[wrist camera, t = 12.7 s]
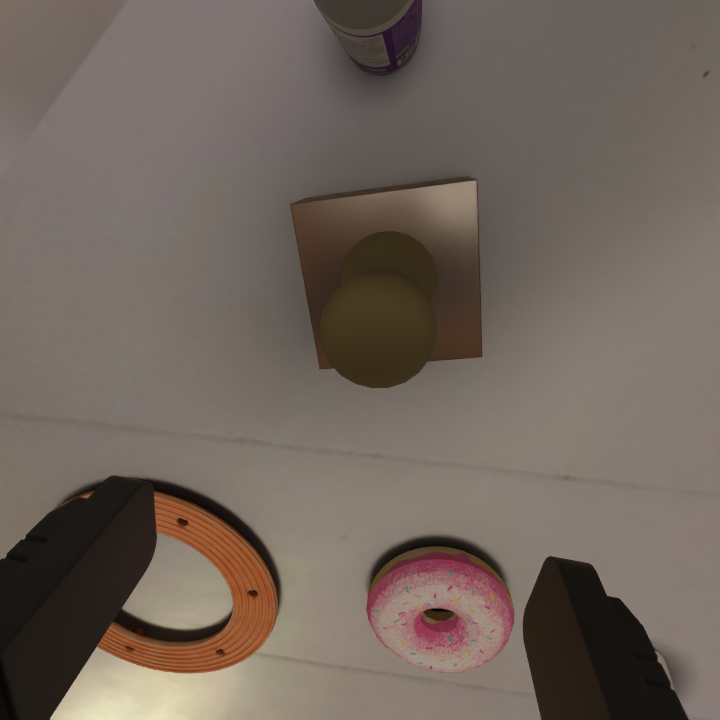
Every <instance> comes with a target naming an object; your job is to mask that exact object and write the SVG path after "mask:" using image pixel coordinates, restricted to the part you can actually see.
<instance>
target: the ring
mask: <svg viewBox="0 0 720 720" xmlns="http://www.w3.org/2000/svg"><path fill="white" fill-rule="evenodd" d="M93 492H94V491H91V492H87V493H84V494H81V495H79V496H76V497H82V498H88V497H89V496H90V495H91V494H92V493H93ZM76 497H74V498H76ZM74 498H72V499H70V500H68V501H66V502H65V503H63V504H62V505H64V504H66V503H67V502H69V501H71V500H73V499H74ZM154 502H155V517H156V532H157V533H160V534H163V535H167V536H170V537H172V538H174V539H177V540H179V541H181V542H183V543H185V544H187V545H189V546H190V547H192V548H194V549H195V550H197V551H198V552H200V553H201V554H202V555H204V556H205V557H206V558H207V559H208V560H210V561H211V562H212V563H213V564H214V566H215V567H216V568H217V569H218V570H219V571H220V572H221V574H222V575H223V577H224V578H225V580H226V582H227V584H228V586H229V588H230V590H231V594H232V598H233V612H232V616H231V618H230V620H229V622H228V624H227V625H226V626H225V627H224V628H223V629H222V630H220V631H219V632H218V633H216V634H214V635H212V636H210V637H208V638H205V639H201V640H197V641H191V642H167V641H160V640H156V639H152V638H148V637H145V636H146V633H145V631H144V630H142V629H140V628H135V629H133V630H132V631H130V630H128V629H126V628H124V627H122V626H120V625H118V624H117V623H115V622H114V621H113V622H112V624H111V625H110V627H109V628H108V630H107V631H106V633H105V634H104V636H103V638H102V639H101V641H100V642H99V644H98V645H97V647H99V648H100V649H102V650H104V651H106V652H108V653H110V654H112V655H114V656H116V657H118V658H120V659H123V660H125V661H128V662H131V663H133V664H136V665H139V666H143V667H146V668H150V669H154V670H160V671H165V672H173V673H205V672H211V671H217V670H221V669H224V668H227V667H230V666H233V665H235V664H237V663H239V662H241V661H243V660H245V659H247V658H248V657H250V656H251V655H252V654H254V653H255V652H256V651H257V650H258V649H259V648H260V647H261V646H262V645H263V644H264V642H265V641H266V639H267V638H268V637H269V635H270V633H271V632H272V630H273V628H274V625H275V622H276V618H277V614H278V595H277V590H276V586H275V583H274V580H273V578H272V575H271V573H270V571H269V569H268V567H267V566H266V564H265V562H264V561H263V559H262V558H261V556H260V555H259V554H258V552H257V551H256V550H255V549H254V547H253V546H252V545H251V544H250V543H249V542H248V541H247V540H246V539H245V538H244V537H243V536H242V535H241V534H240V533H238V532H237V531H236V530H235V529H234V528H233V527H231V526H230V525H229V524H227V523H226V522H225V521H223V520H222V519H220V518H219V517H217V516H216V515H214V514H212V513H211V512H209V511H207V510H205V509H203V508H201V507H199V506H198V505H197V504H196V503H193V502H188V501H186V500H183V499H180V498H177V497H175V496H172V495H168V494H164V493H161V492H156V491H154ZM62 505H60V506H62ZM60 506H59V507H60ZM59 507H57V508H59ZM57 508H56V509H57Z"/></svg>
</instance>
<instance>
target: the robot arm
mask: <svg viewBox="0 0 720 720" xmlns="http://www.w3.org/2000/svg"><path fill="white" fill-rule="evenodd" d="M156 541H157V532H156V517H155V502H154V489H153V485H152V484H151V483H150V482H147V481H142V480H136V479H131V478H125V477H120V476H110V477H109V478H107V479H106V480H105V481H104V482H103V483H102V484H101V485H100V486H99V487H98V488H97V489H96V490H95V491H94V492H93V493H92V494H91V495H90V496H89V497H88V498H82V497H76V498H74V499H73V500H71V501H69V502H67V503H66V504H64V505H62V506H60V507H59V508H57V509H55V510H53V511H52V512H50V513H48V514H47V515H46V516H45V517H44V518H43V519H42V520H41V521H40V522H39V523H38V524H37V525H36V526H35V527H34V528H33V529H32V530H31V531H30V532H29V533H28V534H27V535H26V538H25V539H24V540H21V541H20V542H18V543H17V544H16V545H15V546H14V547H13V548H12V549H11V550H10V551H9V552H8V553H7V556H6V558H5V559H1V560H0V720H49V719H50V717H51V716H52V714H53V713H54V711H55V710H56V708H57V707H58V705H59V704H60V702H61V701H62V699H63V698H64V696H65V694H66V693H67V691H68V690H69V688H70V687H71V685H72V684H73V682H74V681H75V679H76V678H77V676H78V674H79V673H80V671H81V670H82V668H83V667H84V665H85V664H86V662H87V661H88V659H89V658H90V656H91V654H92V653H93V651H94V650H95V648H96V647H97V645H98V644H99V642H100V641H101V639H102V638H103V636H104V634H105V633H106V631H107V630H108V628H109V627H110V625H111V624H112V622H113V621H114V619H115V618H116V616H117V614H118V613H119V611H120V610H121V608H122V607H123V605H124V604H125V602H126V601H127V599H128V598H129V596H130V595H131V593H132V591H133V590H134V588H135V587H136V585H137V584H138V582H139V581H140V579H141V578H142V576H143V575H144V573H145V571H146V570H147V568H148V566H149V564H150V562H151V560H152V557H153V554H154V551H155V547H156ZM523 638H524V644H525V649H526V653H527V658H528V662H529V667H530V671H531V675H532V680H533V684H534V689H535V693H536V698H537V702H538V706H539V711H540V715H541V720H689V719H688V717H687V715H686V713H685V711H684V709H683V707H682V705H681V703H680V701H679V699H678V697H677V695H676V693H675V691H674V690H672V689H671V687H670V684H671V683H670V680H669V678H668V676H667V674H666V672H665V670H664V668H663V666H662V664H661V663H659V662H658V656H657V654H656V652H655V650H654V648H653V646H652V644H651V641H650V639H649V637H648V635H647V633H646V631H645V629H644V627H643V625H642V624H641V623H640V622H639V621H638V620H637V618H636V617H635V616H634V615H633V614H632V613H631V611H630V610H629V609H628V608H627V607H626V606H625V604H624V603H623V602H622V601H621V600H620V599H619V598H615V597H609V596H607V595H606V593H605V590H604V588H603V586H602V583H601V581H600V579H599V577H598V574H597V572H596V570H595V569H594V567H593V566H592V565H591V564H589V563H585V562H579V561H574V560H568V559H563V558H557V557H552V556H550V557H548V558H546V560H545V561H544V563H543V566H542V568H541V571H540V573H539V576H538V578H537V581H536V583H535V586H534V588H533V590H532V593H531V595H530V598H529V600H528V603H527V605H526V608H525V612H524V617H523Z"/></svg>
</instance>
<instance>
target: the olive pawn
mask: <svg viewBox="0 0 720 720" xmlns="http://www.w3.org/2000/svg"><path fill="white" fill-rule="evenodd" d="M436 287H437V269H436V266H435V263H434V260H433V257H432V255H431V254H430V253H429V251H428V250H427V249H426V248H425V246H424V245H423V244H422V243H421V242H419V241H418V240H416V239H415V238H413V237H412V236H410V235H408V234H404V233H400V232H396V231H385V232H377V233H375V234H372V235H370V236H367V237H365V238H363V239H362V240H361V241H360V242H359V243H357V244H356V245H355V246H354V247H353V248H352V249H351V251H350V252H349V254H348V256H347V258H346V259H345V261H344V265H343V270H342V275H341V285H340V286H339V287H338V288H337V289H336V290H334V292H333V293H332V295H331V296H330V298H329V300H328V301H327V303H326V305H325V307H324V308H323V311H322V316H321V320H320V325H319V328H320V336H321V344H322V349H323V351H324V353H325V355H326V357H327V359H328V361H329V363H330V364H331V365H332V366H333V367H334V368H335V369H336V371H337V372H338V373H339V374H340V375H341V376H343V377H345V378H347V379H348V380H350V381H352V382H353V383H355V384H358V385H362V386H366V387H370V388H389V387H392V386H395V385H398V384H401V383H405V382H406V381H408V380H409V379H411V378H412V377H413V376H415V375H416V374H418V373H419V372H420V371H421V369H422V368H423V367H424V365H425V364H426V363H427V361H428V360H429V359H430V357H431V355H432V353H433V349H434V346H435V343H436V340H437V321H436V316H435V313H434V311H433V308H432V305H431V303H432V300H433V297H434V294H435V291H436Z"/></svg>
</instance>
